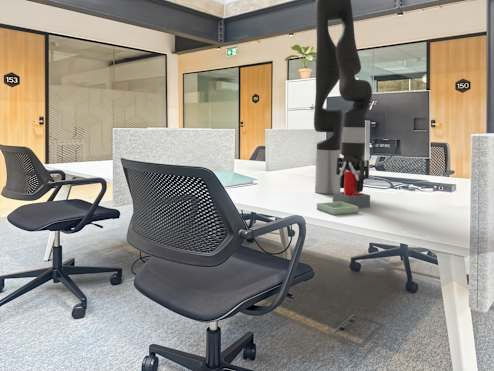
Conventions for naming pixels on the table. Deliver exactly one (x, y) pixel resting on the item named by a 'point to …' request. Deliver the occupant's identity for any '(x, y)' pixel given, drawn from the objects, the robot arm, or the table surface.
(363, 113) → the robot arm
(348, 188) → the beverage can
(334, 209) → the tray
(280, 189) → the table surface
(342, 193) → the dark grey open box
